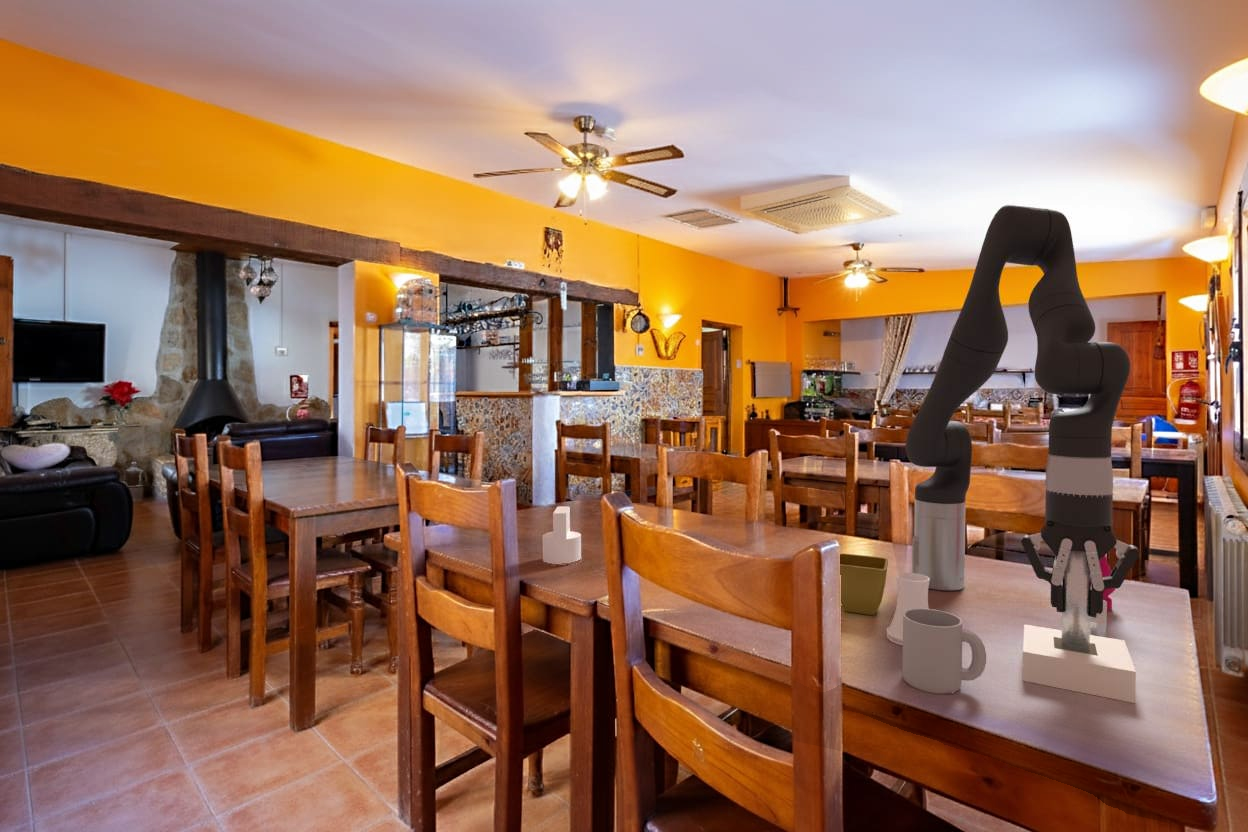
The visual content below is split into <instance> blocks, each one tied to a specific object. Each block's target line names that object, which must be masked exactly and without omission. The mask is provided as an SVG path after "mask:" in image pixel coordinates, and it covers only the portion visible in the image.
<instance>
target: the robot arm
mask: <svg viewBox="0 0 1248 832" xmlns="http://www.w3.org/2000/svg"><path fill="white" fill-rule="evenodd" d="M1073 241H1074V240H1073V235H1072V231H1071V226H1070V223H1069V220H1068V218H1067V217H1066V216H1065V214H1064V212H1063V213H1062V212H1061V211H1059V210H1054V209H1049V208H1043V207H1034V206H1028V205H1027V206H1025V205H1020V204H1005V205H1003V206H1001V207H1000V208H999V209H997V211H996V213H995V214H994V215H993V217H992V220H991V221H990V223H989V226H988V228H987V230H986V234H985V237H984V240H983V243H982V245H981V249H980V252H979V256H978V259H977V261H976V265H975V269H974V273H973V276H972V280H971V283H970V286H969V289H968V291H967V295H966V297H965V299H964V301H963V302H964V303H963V305H962V307H961V310H960V312H959V314H958V317H957V319H956V321H955V324H954V326H953V328H952V331H951V333H950V336H949V338H948V341H947V343H946V346H945V349H944V351H943V356H942V358H941V361H940V363H939V366H938V368H937V370H936V372H935V375H934V378H933V380H932V383H931V385H930V387H929V389H928V392H927V394H926V396H925V398H924V400H923V402H922V404H921V405H920V408H919V409H918V412H917V413H916V416H915V417H914V419H913V421H912V424H911V425H910V427H909V430H908V431H907V435H906V442H905V452H906V456H907V459H908V460H909V461H910V462H911V464H913V465H915V466H917V467H923V468H930V467H931V468H933V467H935V469H934V472H933V474H932V475H931V476H930V477H929V478H927V479H925V480H924V481H921V482H920V483H918V484H916V486H915V488H914V533H913V534H914V536H913V537H912V540H911V541H912V545H911V546H912V548H911V550H912V551H911V555H912V556H911V573H915V574H921V575H925V576H927V577H929V578H930V580H929V587H928V589H932V590H936V591H937V590H938V591H959V590H963V589H964V588H965V577H966V576H965V567H966V564H965V563H966V562H965V561H966V559H965V558H966V557H965V555H966V554H965V553H966V499H967V497H966V495H967V492H968V490H969V488H970V484H971V470H972V457H973V442H972V441H973V440H972V436H971V433H970V430H969V429H968V427H967V426H966V425H965V424H964V423H962V422H960V421H959V420H958V421H957V420H951V419H952V417H953V416H954V415H955V412H957V409H959V407H960V406H962V404H963V403H964V402H966V400H968V399H969V398H970V397H971V396H972V395H973V394H974V393H976V392H977V391H978V390H979V389H980V388H981V387H982V386H983V385H984V384H985V383H987V382H988V380H990V378H991V377H992V376H993V374H994V373H995V372H996V369H997V368H998V366H999V363H1000V361H1001V359H1002V357H1003V354H1004V352H1005V349H1006V347H1007V345H1008V342H1009V341H1008V340H1009V330H1008V325H1007V320H1006V317H1005V314H1004V313H1005V312H1004V310H1003V307H1002V303H1001V298H1000V297H1001V296H1000V283H1001V277H1002V273H1003V271H1004V267H1005V266H1006V264H1015V265H1023V266H1037V267H1039V269H1040V270H1041V271H1042V272H1043V275H1042V277H1040V279H1039V280H1038V281H1037V282H1036V284H1035V286H1034V288H1033V289H1032V290H1031V293H1030V295H1029V298H1028V314H1029V317H1030V320H1031V323H1032V325H1033V328H1034V331H1035V334H1036V341H1037V342H1036V343H1037V349H1036V350H1037V351H1036V352H1037V353H1036V357H1035V364H1034V378H1035V382H1036V383H1037V385H1038V386H1039V387H1040V389H1042V390H1043V391H1045V392H1047V393H1048V394H1053V395H1089V398H1088V399H1087V401H1086V403H1085V404H1084V405H1083V406H1082V407H1080V408H1078V409H1075V410H1069V411H1063V412H1058V413H1056V414H1054V415H1052V416H1051V417H1050V419H1049V423H1048V454H1047V463H1046V470H1045V479H1044V484H1045V511H1044V512H1045V513H1044V514H1045V516H1044V525H1043V527H1042V528H1041V530H1040V532H1037V533H1033V534H1030V535H1029V534H1023V535H1021V538H1020V543H1021V546H1022V548H1023V550H1024V552H1025V554H1026V557H1027V558H1028V560H1029V563H1030V565H1031V567H1032V569H1033V572H1034V573H1035V576H1036V577H1037V578H1038V579H1041V580H1044V581H1046V582H1048V583H1049V584H1050V604H1051V607H1052V608H1056V613H1061V614H1062V613H1063V585H1062V579H1063V576H1064V572H1065V569H1066V566H1067V562H1068V558H1069V554H1070V551H1071V550H1076V551H1086V555H1087V560H1088V564H1089V569H1090V574H1091V581H1092V584H1091V589H1090V617H1095V618H1096V617H1097V613H1098V614H1101V613H1102V611H1103V592H1104V590H1106V589H1109V588H1115V589H1119V588H1121V587H1122V584H1123V583H1124V581H1125V580H1126V578H1127V576H1128V575H1129V573H1130V571H1131V569H1132V568H1133V566H1134V565H1135V563H1136V561H1137V560H1138V558H1139V556H1140V551H1139V549H1138V547H1137V546H1135V545H1133V544H1127V543H1125V542H1123V541H1120V540H1118V539H1117V537H1116V535H1115V534H1114V530H1113V525H1112V518H1113V505H1114V504H1113V500H1114V499H1113V498H1114V497H1113V495H1114V472H1113V471H1114V470H1113V465H1112V433H1113V432H1112V431H1113V430H1112V429H1113V424H1114V420H1115V417H1116V413H1117V409H1118V407H1119V404H1120V400H1121V398H1122V396H1123V393H1124V391H1125V388H1126V385H1127V382H1128V379H1129V375H1130V372H1131V361H1130V357H1129V354H1128V353H1127V352H1126V350H1125V348H1124V347H1122V346H1121V345H1120V344H1118V343H1116V342H1110V341H1096V342H1090V341H1091V340H1092V339H1093V337H1094V335H1095V334H1096V324H1095V319H1094V317H1093V314H1092V312H1091V311H1090V308H1089V305H1088V303H1087V301H1086V299H1085V296H1084V295H1083V292H1082V289H1081V286H1080V281H1079V279H1078V272H1077V271H1078V270H1077V261H1076V256H1075V254H1076V253H1075V248H1074V242H1073ZM1041 542H1044V543H1045V544H1046V545H1047V547H1048V548H1049V549H1050V550H1051V552H1052V553H1053V554H1054V555H1055V557H1054V561H1053V566H1052V569H1051V570H1050V569H1046V567H1045V565H1044V563H1043V561H1042V559H1041V557H1040V554H1039V552H1038V551H1039V550H1040V549H1041ZM1113 548H1114V549H1115V550H1116V551H1115V555H1116V557H1117V558H1118V560H1117V561H1116V563H1115V565H1114V567H1113V569H1111V571H1112V572H1111V574H1110V575H1109V576H1108V577H1102V574H1101V569H1100V564H1099V561H1100V560H1101V559H1102V558H1103V557H1104V556H1105V555H1106V556H1107V554H1108V553H1110V551H1111V550H1112V549H1113Z"/></svg>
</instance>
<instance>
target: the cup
mask: <svg viewBox="0 0 1248 832" xmlns="http://www.w3.org/2000/svg"><path fill="white" fill-rule="evenodd" d="M963 642H965V643H967V644H969V646H970V649H971V662H970V665H969V666H968V667H963ZM901 664H902V678H903V680H904V681H905V682H907V683H908V684H907V683H906V684H907V685H909V684H910V685H911V686H910V685H909V686H910V687H912V686H913V687H912V688H914V687H915V688H917V689H916V690H918V689H920V690H919V691H921V690H922V691H921V692H924V691H926V692H925V693H928V692H931V693H930V694H933V693H936V694H935V695H947V694H946V693H951V694H953V693H952V692H955V693H957V692H958V691H959V690H960V688H961V687H962V681H966V682H969V681H974V680H977V678H979V677H981V676H982V674H983V673H984V671H985V670H986V665H987V651H986V647H985V645H984V642H983V641H982V639H981V638H980V637H979V636H978V635H977V633H975V632H973V631H970V630H969V629H965V628H963V620H962V619H961V617H959V616H957V615H955V614H954V613H951V612H947V611H944V610H939V609H938V610H937V609H933V608H929V609H920V608H919V609H910V610H907V611H905V612H904V613H903V645H902V663H901ZM915 688H914V689H915ZM956 691H957V692H956ZM938 693H940V694H938ZM941 693H943V694H941ZM944 693H945V694H944Z"/></svg>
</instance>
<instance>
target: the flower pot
mask: <svg viewBox="0 0 1248 832" xmlns="http://www.w3.org/2000/svg"><path fill="white" fill-rule="evenodd" d="M839 553H840V575H841V604H842V606H841V608H842V610H843V611H844V612H846V613H847V612H849V613H854V614H855V613H856V614H862V615H863V614H864V615H867V616H868V615H869V616H874V615H875V614H876V613H877V611H878V610H879V608H880V605H881V604H882V600H883V597H884V592H885V587H886V582H887V575H888V574H887V572H888V566H889V565H888V564H889V559H888V558H887V557H882V556H881V557H880V556H874V555H861V554H854V553H853V554H852V553H843V552H842V553H841V552H839Z"/></svg>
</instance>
